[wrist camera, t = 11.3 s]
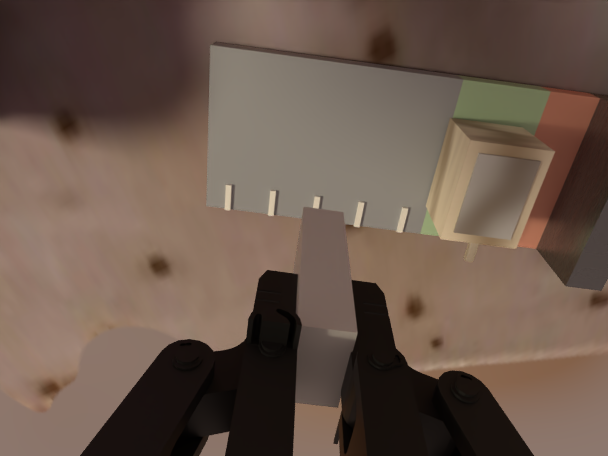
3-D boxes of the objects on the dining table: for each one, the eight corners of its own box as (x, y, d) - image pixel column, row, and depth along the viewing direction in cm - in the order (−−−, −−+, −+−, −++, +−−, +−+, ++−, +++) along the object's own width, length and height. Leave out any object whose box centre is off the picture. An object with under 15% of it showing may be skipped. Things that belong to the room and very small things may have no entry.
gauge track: (211, 197, 44) (205, 207, 42) (215, 42, 37) (209, 45, 35) (527, 238, 45) (537, 250, 43) (587, 92, 38) (602, 99, 36)
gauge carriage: (420, 225, 42) (434, 261, 37) (450, 117, 37) (471, 141, 32) (484, 233, 42) (508, 271, 37) (522, 127, 37) (556, 152, 32)
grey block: (527, 238, 45) (565, 286, 38) (587, 92, 38) (647, 118, 31) (576, 244, 45) (622, 293, 38) (644, 100, 38) (715, 127, 31)
